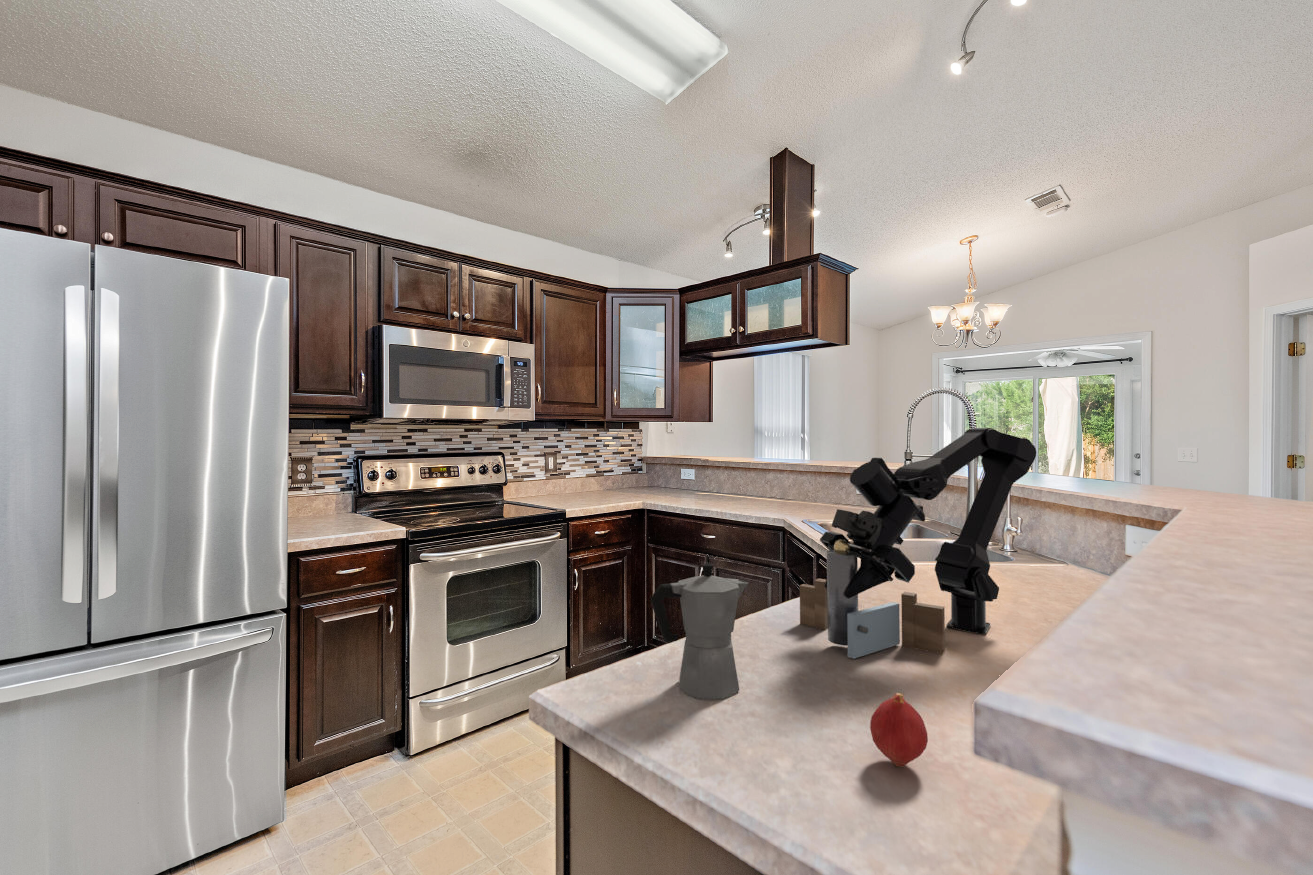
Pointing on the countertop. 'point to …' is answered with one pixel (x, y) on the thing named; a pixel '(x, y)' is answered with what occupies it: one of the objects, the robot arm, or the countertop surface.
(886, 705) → the onion
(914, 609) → the fence
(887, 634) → the gate
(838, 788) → the countertop surface
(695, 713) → the countertop surface
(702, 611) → the coffeepot
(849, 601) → the grey tall cylinder
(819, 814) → the countertop surface
